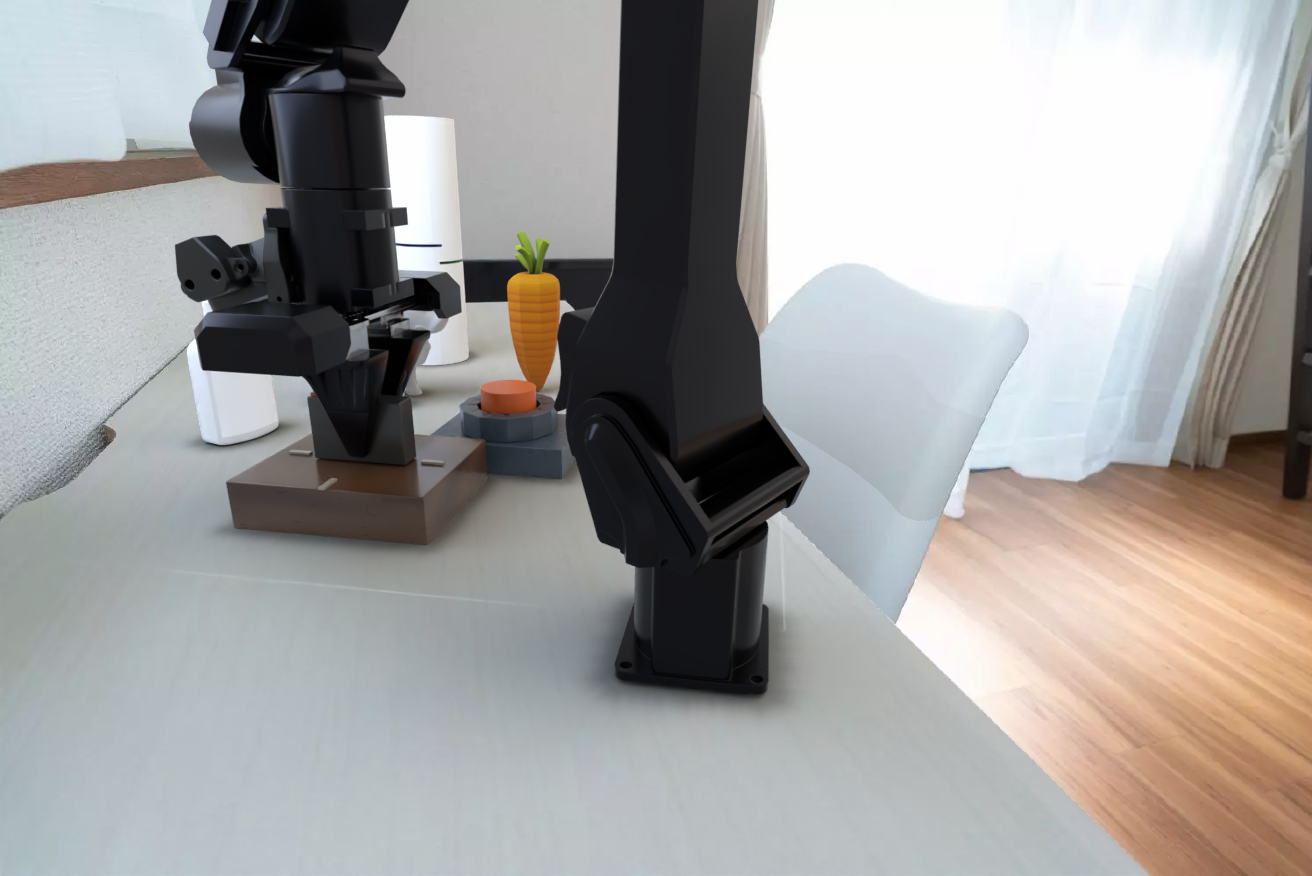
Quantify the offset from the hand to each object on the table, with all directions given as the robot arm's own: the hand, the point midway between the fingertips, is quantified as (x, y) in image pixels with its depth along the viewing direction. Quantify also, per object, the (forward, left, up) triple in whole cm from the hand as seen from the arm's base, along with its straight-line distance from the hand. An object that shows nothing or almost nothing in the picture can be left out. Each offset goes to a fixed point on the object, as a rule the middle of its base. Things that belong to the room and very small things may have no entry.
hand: (366, 450), depth 47 cm
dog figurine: (+22, +10, -4) cm, 24 cm away
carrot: (+27, -3, -4) cm, 27 cm away
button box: (+10, -6, -4) cm, 12 cm away
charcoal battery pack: (0, 0, 0) cm, 0 cm away
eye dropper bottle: (+10, +16, -4) cm, 19 cm away
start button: (+10, -6, 0) cm, 12 cm away
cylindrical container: (+38, +12, -4) cm, 40 cm away
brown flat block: (0, 0, -4) cm, 4 cm away
